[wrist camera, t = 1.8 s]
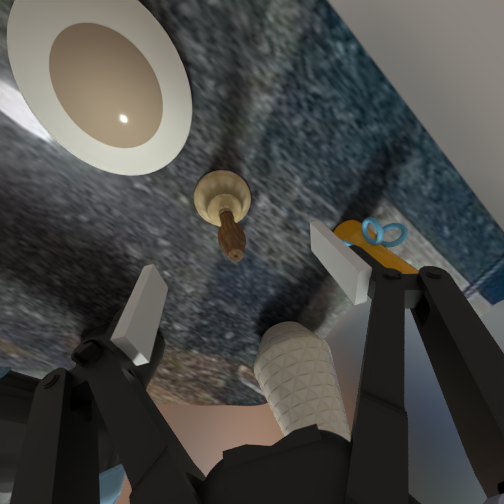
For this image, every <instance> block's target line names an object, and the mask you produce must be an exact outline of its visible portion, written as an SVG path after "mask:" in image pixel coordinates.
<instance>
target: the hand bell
mask: <svg viewBox="0 0 504 504" xmlns="http://www.w3.org/2000/svg"><path fill="white" fill-rule="evenodd" d="M250 202H251V195H250V190H249V188H248V186H247V184H246V182H245V181H244V180H243V179H242V178H241V177H240V176H239V175H237V174H235V173H233V172H231V171H227V170H217V171H213V172H210V173H208V174H206V175H205V176H204V177H203V178H202V179H201V180H200V181H199V182H198V184H197V186H196V188H195V192H194V203H195V207H196V209H197V211H198V213H199V214H200V215H201V216H202V218H204V219H205V220H206V221H208V222H209V223H212V224H214V225H217V226H219V227H220V228H219V232H218V242H219V245H220V248H221V249H222V251H223V252H224V253H225V254H226V255H227V256H228V258H229V259H230V260H231V261H233V262H238V261H240V260H241V259H242V258H243V253H244V250H245V246H246V238H245V235H244V232H243V230H242V228H241V227H240V226H239V225H238V224H237V222H238V221H240V220H241V219H242V218H243V217H244V216H245V215H246V213H247V211H248V209H249V207H250Z"/></svg>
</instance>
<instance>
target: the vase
mask: <svg viewBox="0 0 504 504" xmlns="http://www.w3.org/2000/svg"><path fill="white" fill-rule="evenodd" d="M254 373H255V376H256V378H257V380H258V382H259V384H260V386H261V389H262V391H263V393H264V395H265V397H266V399H267V401H268V403H269V405H270V407H271V409H272V412H273V414H274V416H275V418H276V420H277V422H278V424H279V426H280V428H281V430H282V432H283V435H284V437H285V436H286V435H288V434H289V433H291V432H292V431H293V430H296V429H299V428H303V427H306V426H309V425H313V424H316V423H317V426H318V429H320V430H327V431H331V432H334V433H336V434H338V435H340V436H342V437H344V438H345V439H347V440H348V441H349V442H350V438H351V435H350V432H349V427H348V423H347V418H346V414H345V410H344V406H343V402H342V398H341V393H340V389H339V385H338V381H337V377H336V372H335V368H334V365H333V360H332V356H331V352H330V348H329V346H328V344H327V343H326V342H325V341H324V340H323V339H322V338H320V337H319V336H318V335H316V334H315V333H313V332H312V331H310V330H309V329H307V328H306V327H304V326H303V325H301V324H300V323H297V322H293V321H287V322H281V323H278V324H276V325H274V326H272V327H270V328H269V329H268V330H267V331H266V332H265V333H264V335H263V337H262V340H261V343H260V346H259V350H258V353H257V356H256V359H255V363H254Z"/></svg>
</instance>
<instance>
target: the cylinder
mask: <svg viewBox="0 0 504 504" xmlns="http://www.w3.org/2000/svg"><path fill="white" fill-rule="evenodd" d="M369 222H370V223H372V224H373V225H374V226H375V228H376V230H377V234H375V233H374V232H373V231H372V230H371V229H369V228H368V227H367V225H368V223H369ZM392 228H398V229H400V230H401V232H402V234H401V236H400V237H399V238H398V239H397V240H395V241H392V242H384V241H383V237H384V232H385V231H387V230H389V229H392ZM333 233H334V234H335V235H336V236H337V237H338V238H339V239H340V240H342V241H343V242H344V243H345V244H346V245H347V246H351V245H357V246H359V247H361V248H363V249H364V250H365V251H366V252H367V253H369V254H370V255H371V256H372V257H373V258H375V259H376V260H377V261H378V262H379V263H381V264H382V265H383V266H384V267H386V268H393V269H396V270H398V271H400V272H402V273H403V274H418V272H419V271H418V270H417V269H416V268H414V267H413V266H411V265H410V264H408V263H407V262H406V261H404V260H403V259H401V258H400V257H398V256H397V255H396V254H394V253H393V252H391V251H390V250H388V249H387V248H386V247H394V246H397V245H399V244H401V243H402V242H403V241H405V239H406V238H407V236H408V229H407V227H406V226H404V225H403V224H399V223H392V224H388V225H386V226H384V227H382V225H381V224H380V222H379V221H378V220H377V219H375V218H373V217H367V218H365V219H364V220H363V222H362V223H360V222H358V221H356V220H347V221H345V222H343V223H341V224H340V225H338V226H337V227H336V229H335V230H334V232H333Z"/></svg>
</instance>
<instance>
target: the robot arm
mask: <svg viewBox="0 0 504 504" xmlns="http://www.w3.org/2000/svg"><path fill="white" fill-rule="evenodd" d="M310 231H311V250H312V251H313V253H314V254H315V255H316V256H317V258H318V259H319V260H320V262H321V263H322V264H323V265H324V267H325V268H326V269H327V270H328V272H329V273H330V274H331V275H332V277H333V278H334V279H335V280H336V282H337V283H338V284H339V286H340V287H341V288H342V289H343V291H344V292H345V293H346V294H347V296H348V297H349V298H350V299H351V301H352V302H353V303H354V305H356V304H360V303H363V302H366V301H367V295H368V296H369V297H370V298H371V299H372V302H371V307H370V315H369V322H368V328H367V335H366V341H365V349H364V355H363V361H362V368H361V375H360V381H359V388H358V395H357V401H356V408H355V414H354V420H353V426H352V432H351V438H350V442H349V441H348V440H347V439H345V438H344V437H342V436H340V435H338V434H336V433H334V432H331V431H327V430H320V429H318V426H317V423H316V424H313V425H309V426H306V427H303V428H299V429H296V430H293V431H292V432H291V433H289V434H288V435H286V436H285V437H284V438H282V439H281V440H279V441H278V442H277V443H275V444H274V445H272V446H262V445H248V444H246V445H242V446H239V447H236V448H232V449H229V450H226V451H223V459H222V460H221V461H219V462H218V463H217V464H216V465H215V467H213V469H212V470H211V471H210V472H209V474H208V475H207V477H205V476H204V474H203V473H202V472H201V470H200V469H199V468H198V467H197V466H196V465H195V464H194V462H193V461H192V460H191V458H190V456H189V455H188V453H187V452H186V450H185V449H184V447H183V446H182V445H181V443H180V441H179V440H178V438H177V437H176V435H175V434H174V432H173V431H172V429H171V428H170V426H169V425H168V423H167V422H166V420H165V419H164V417H163V416H162V414H161V413H160V411H159V410H158V408H157V407H156V405H155V404H154V402H153V401H152V399H151V398H150V396H149V395H148V393H147V392H146V389H147V386H148V384H149V382H150V380H151V379H152V377H153V375H154V373H155V371H156V369H157V367H158V366H159V364H160V363H161V361H162V358H163V354H164V349H165V344H164V341H163V339H162V337H161V336H160V335H159V334H158V333H157V330H158V326H159V322H160V318H161V314H162V310H163V306H164V303H165V299H166V295H167V291H168V287H167V285H166V284H165V282H164V280H163V279H162V277H161V275H160V274H159V272H158V270H157V269H156V267H155V265H154V264H151V265H147V266H144V268H143V270H142V272H141V274H140V276H139V279H138V281H137V283H136V285H135V287H134V289H133V292H132V294H131V296H130V298H129V300H128V302H127V305H126V306H125V307H122V308H120V310H119V311H118V312H117V313H116V314H115V316H114V318H113V320H112V322H111V324H108V325H104V326H101V327H98V328H96V329H94V330H93V331H91V332H90V333H89V334H88V335H87V336H86V337H85V339H84V340H83V342H82V343H81V344H79V345H78V346H77V347H76V349H75V350H74V351H73V353H72V355H71V359H72V360H73V361H74V362H76V367H75V368H73V369H71V370H69V371H67V370H66V369H64V368H57V369H55V370H53V371H51V372H50V373H49V374H47V375H46V376H45V377H44V378H43V379H42V380H41V379H38V378H34V377H31V376H28V375H24V374H21V373H18V372H15V371H12V370H11V367H0V504H115V502H116V501H117V500H118V498H119V496H120V494H121V491H122V487H123V484H124V480H125V477H126V475H127V477H128V479H129V482H130V485H131V488H132V492H131V494H130V496H129V499H130V504H421V503H420V502H418V501H417V500H416V499H415V498H414V497H412V495H410V494H409V493H408V417H407V412H406V411H405V408H404V324H405V323H404V322H405V321H404V319H405V317H404V316H405V315H404V314H405V308H410V310H411V312H412V315H413V318H414V320H415V323H416V325H417V328H418V330H419V333H420V336H421V338H422V341H423V343H424V346H425V349H426V351H427V354H428V356H429V359H430V361H431V364H432V367H433V369H434V372H435V374H436V377H437V380H438V382H439V385H440V387H441V390H442V392H443V395H444V398H445V400H446V403H447V405H448V408H449V411H450V413H451V415H452V418H453V421H454V423H455V426H456V428H457V431H458V434H459V436H460V439H461V442H462V444H463V446H464V449H465V452H466V455H467V457H468V459H469V461H470V463H471V466H472V468H473V470H474V473H475V475H476V477H477V479H478V481H479V483H480V484H481V486H482V488H483V490H484V492H485V494H486V496H487V498H488V499H486V501H485V502H484V504H504V354H503V352H502V350H501V349H500V347H499V346H498V344H497V343H496V342H495V340H494V339H493V337H492V336H491V334H490V333H489V331H488V330H487V328H486V327H485V325H484V324H483V322H482V321H481V319H480V318H479V317H478V315H477V314H476V312H475V311H474V309H473V308H472V306H471V305H470V303H469V302H468V300H467V299H466V297H465V296H464V295H463V293H462V292H461V290H460V289H459V287H458V286H457V284H456V283H455V281H454V280H453V278H452V277H451V275H450V274H449V273H448V272H447V271H445V270H443V269H441V268H438V267H434V266H424V267H422V268H420V270H419V272H418V274H403V273H402V272H400V271H398V270H396V269H393V268H386V267H384V266H383V265H382V264H381V263H379V262H378V261H377V260H376V259H375V258H373V257H372V256H371V255H370V254H369V253H367V252H366V251H365V250H364V249H363V248H361V247H359V246H357V245H351V246H347V245H346V244H345V243H344V242H343V241H342V240H340V239H339V238H338V237H337V236H336V235H335V234H334V233H333V232H332V231H330V230H329V229H328V228H327V227H326V226H325V225H324V224H323V223H322V222H320V221H319V220H318V221H314V222H311V223H310Z"/></svg>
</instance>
